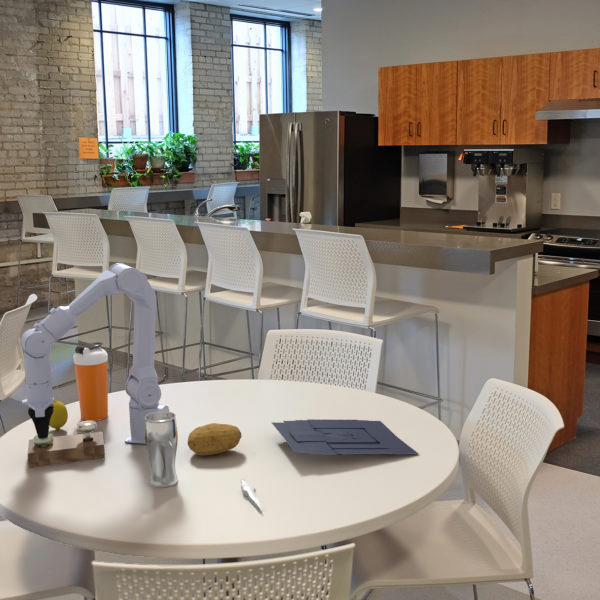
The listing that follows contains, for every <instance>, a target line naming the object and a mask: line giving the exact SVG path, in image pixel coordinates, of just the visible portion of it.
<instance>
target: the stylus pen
mask: <svg viewBox="0 0 600 600" xmlns="http://www.w3.org/2000/svg"><path fill="white" fill-rule="evenodd" d="M240 483H241V485H240V486H241V487H240V489H241V492H242V494H243V496H244V497H246V498H248V500H249V501H250V503H252V505H254V506H255V508H256V509H257V510H258V511H260V512H263V509H262V508H263V507H262V505H261V503H260V500H259V498H258V495H257V492H256V490H257V489H256V487H255V486H253V485H251V484H250V483H249V482H248V481H246V480H245V479H244V478H243V479H240Z"/></svg>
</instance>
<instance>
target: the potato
mask: <svg viewBox="0 0 600 600" xmlns="http://www.w3.org/2000/svg"><path fill="white" fill-rule="evenodd" d="M187 436H188V437H187V446H188V448H189V450H190V451H192V452H193V453H194V454H196V455H199V456H210V455H211V456H212V455H217V454H222V453H225V452H228V451H231V450H233V449H235V448H236V447H237V446H238V444H240V441H241V439H242V432H241V430H240V428H239V427H237V426H236V425H232V424H227V423H216V422H213V423H208V424H205V425H202V426H198V427H195V428H194V429H193V430H192V431H191V432H189V434H188V435H187Z"/></svg>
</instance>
